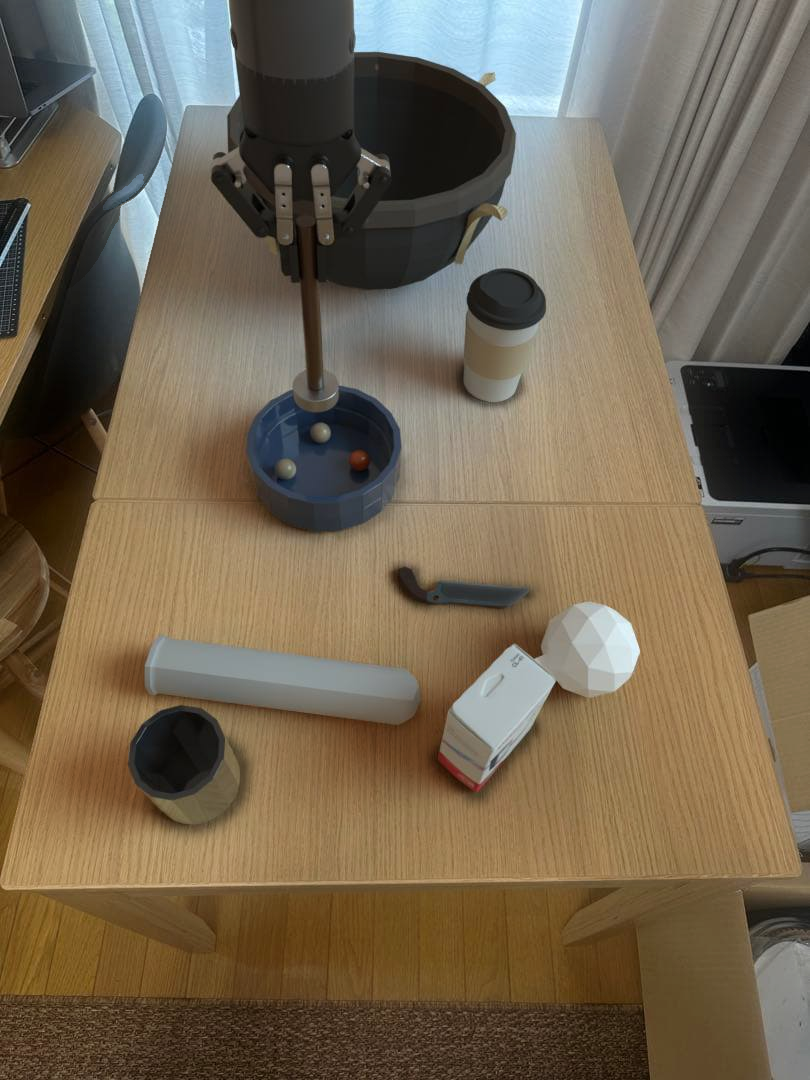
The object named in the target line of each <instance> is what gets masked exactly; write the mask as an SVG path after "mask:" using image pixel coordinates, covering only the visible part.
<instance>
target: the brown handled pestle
mask: <svg viewBox="0 0 810 1080" xmlns="http://www.w3.org/2000/svg"><path fill="white" fill-rule="evenodd" d="M295 223H296V237H297V248H298V261H299V275H300V283H299V290H300V292H299V293H300V303H301V304H300V306H301V316H302V317H301V318H302V332H303V344H304V345H303V346H304V354H305V355H304V357H305V358H304V359H305V370H303V371H301V372H300V373H298V374H297V375H296V376H295V378H294V380H293V382H292V390H293V394H294V400H295V402H296V404H297V405H298V406H299V407H300V408H302V409H303V410H305V411H308V412H316V413H317V412H324V411H327V410H329V409H331V408H332V407H333V406H335V404H336V403H337V401H338V398H339V381H338V378H337V377H336V375H334V374H333V373H332V372H330V371H329V370H326V369H324V355H323V335H322V334H323V333H322V331H323V330H322V314H321V311H322V310H321V291H320V289H321V288H320V283H318V265H317V245H316V239H317V225H316V220H315V219H314V218H313V217H311V216H300V217H298V218H297V219H296V222H295Z"/></svg>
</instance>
